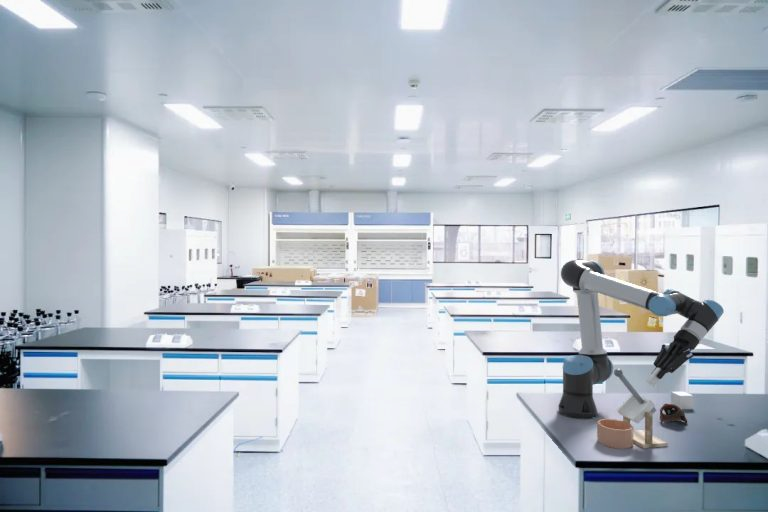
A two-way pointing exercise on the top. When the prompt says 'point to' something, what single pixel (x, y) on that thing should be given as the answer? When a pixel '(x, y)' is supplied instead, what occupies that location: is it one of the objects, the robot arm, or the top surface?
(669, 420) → the dark brown skull
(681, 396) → the white cube
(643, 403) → the lever
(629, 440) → the terracotta round bowl
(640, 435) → the lever stand
